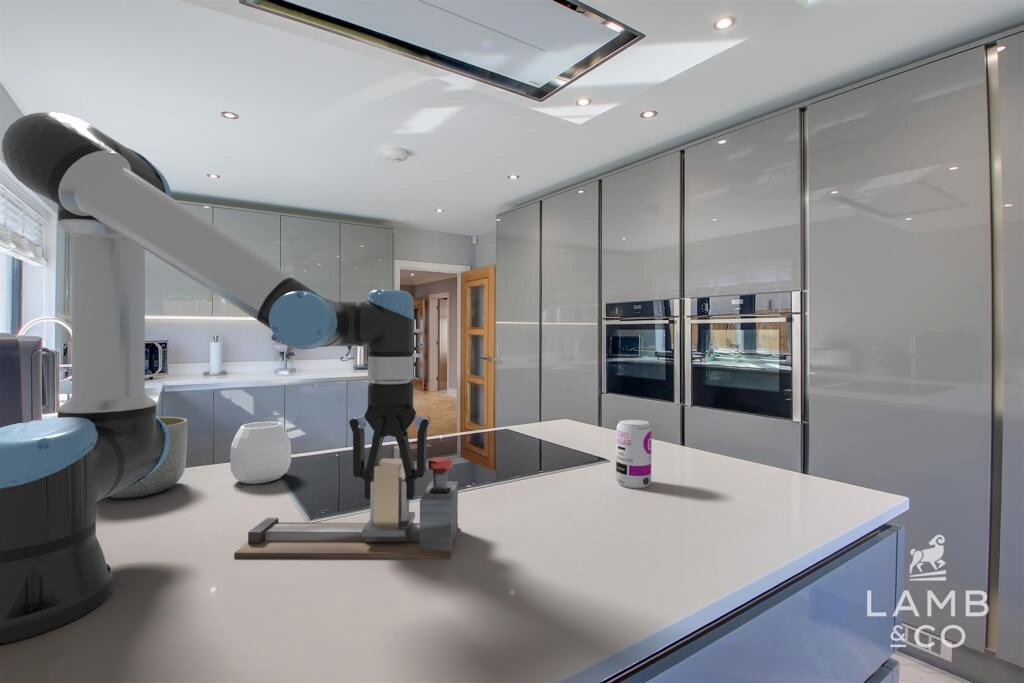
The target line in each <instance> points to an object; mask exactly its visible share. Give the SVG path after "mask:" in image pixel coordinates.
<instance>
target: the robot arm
mask: <svg viewBox="0 0 1024 683" xmlns="http://www.w3.org/2000/svg"><path fill="white" fill-rule="evenodd" d="M1 142H2V143H1V152H2V156H3V160H4V161H5V165H7V166H6V167H7V168H8V170H9V171H10V173H11V174H12V175H13V177H15V178H16V180H18V181H19V182H20V183H21V184H22V185H23V186H25V187H26V188H28V189H29V190H31V191H32V192H34V193H36V194H38V195H41V196H42V197H45V198H46V199H48V200H50V201H51V202H53V203H55V204H56V205H58V206H57V224H58V226H59V227H61V229H63V230H64V231H65V232H66V233H67V234H68V235H69V236H70V237H71V239H72V241H71V246H72V247H71V260H72V261H71V396H70V398H69V399H68V400H66V401H65V402H64V403H63V404H61V405H60V406H59V407H58V408H57V417H50V418H43V419H40V418H39V419H35V420H31V421H28V422H19V423H14V424H9V425H6V426H2V427H0V643H4V644H8V643H12V642H15V641H19V640H23V639H24V640H25V639H27V638H30V637H33V636H36V635H39V634H42V633H44V632H45V633H46V632H48V631H51V630H53V629H56V628H58V627H62V626H63V625H65V624H68V623H70V622H72V621H74V620H76V619H78V618H80V617H83V616H84V615H86V614H88V613H89V612H91V611H93V610H94V609H96V608H97V607H98V606H100V605H101V604H103V603H104V602H105V601H106V600H107V599H108V598H109V597H110V595H111V594H112V592H113V590H114V573H113V569H112V567H111V566H110V564H108V563H107V561H106V557H105V554H104V552H103V548H102V547H101V544H100V542H99V540H98V538H97V516H96V515H97V502H100V501H101V500H103V499H105V498H107V497H109V496H110V495H112V494H114V493H116V492H118V491H120V490H122V489H124V488H127V487H130V486H133V485H135V484H137V483H138V482H140V481H142V480H143V479H145V478H146V477H147V476H148V475H150V474H151V473H153V472H154V471H155V470H156V469H157V468H158V467H159V466H160V465H161V464H162V463H163V461H164V460H165V458H166V456H167V454H168V451H169V448H170V434H169V430H168V428H167V426H166V424H165V423H163V422H162V421H161V420H160V418H159V417H160V416H158V415H157V401H156V400H154V399H153V398H152V397H151V396H149V395H148V394H147V393H146V391H145V390H146V389H145V383H146V382H145V376H146V374H145V372H146V369H145V367H146V365H145V363H146V361H145V360H146V359H145V358H146V350H145V349H146V348H145V347H146V339H145V337H146V336H145V335H146V328H145V326H146V251H147V253H148V252H149V253H150V254H151V255H153V256H155V257H157V258H158V259H160V260H161V261H163V262H164V263H166V264H168V265H169V266H171V267H172V268H174V269H175V270H177V271H179V272H180V273H182V274H184V275H185V276H187V277H188V278H190V279H191V280H193V281H194V282H196V283H197V284H199V285H201V286H202V287H204V288H206V289H207V290H209V291H210V292H212V293H214V294H215V295H217V296H218V297H220V298H222V299H223V300H225V301H226V302H228V303H230V304H231V305H233V306H235V307H236V308H238V309H239V310H241V311H242V312H244V313H245V314H247V315H249V316H250V317H252V318H254V319H255V320H257V321H258V322H259V323H261V324H262V325H264V326H265V327H266V328H268V329H269V330H271V332H272V333H273V335H274V336H275V337H276V339H277V340H278V341H279V342H281V343H283V344H284V345H285V346H286V345H287V346H288V347H292V348H294V349H299V350H312V349H313V350H314V349H317V348H324V347H326V348H327V347H367V357H368V358H367V379H368V380H369V381H371V382H369V383H368V385H367V408H366V411H365V413H364V414H363V415H361V416H356V417H353V418H351V419H350V420H349V422H348V424H349V426H350V429H351V431H352V468H353V469H352V474H353V476H354V477H355V478H361V479H362V480H363V481H364V498H365V500H370V504H369V506H370V508H369V509H370V512H369V514H370V516H369V517H370V518H369V520H370V521H374V466H375V465H376V464H377V463H378V462H379V459H380V454H381V450H382V446H383V443H384V439H385V437H388V436H390V437H392V438H395V440H396V443H397V444H398V448H399V454H400V459H402V463H403V467H404V472H405V478H404V479H403V481H402V485H401V521H406V519H407V518H408V516H409V512H410V500H413V499H414V497H415V496H416V480H417V479H418V478H423V476H425V473H426V472H427V452H428V451H427V450H428V448H427V445H428V444H427V443H428V429H429V427H430V424H431V421H432V420H431V418H430V417H429V416H426V417H423V416H421V415H418V414H417V412H416V410H415V409H414V408H415V407H414V383H413V382H412V381H411V380H413V379H414V346H415V345H414V338H415V337H414V336H415V333H414V332H415V315H414V314H415V310H414V298H413V295H412V294H411V293H409V292H408V291H406V290H405V291H404V290H401V289H400V290H399V289H373V290H370V291H369V292H368V298H367V299H366V301H356V302H355V301H335V300H332V299H328V298H326V297H323V296H322V295H320V294H318V293H317V292H316V291H313V289H311V288H309V287H307V286H306V285H305V284H303V283H301V281H298V280H296V279H295V278H293V276H291V275H289V274H288V273H286V271H283V270H282V269H280V268H279V267H277V266H276V265H274V264H273V263H271V262H269V261H268V260H267V259H265V258H263V257H262V256H261V255H259V254H258V253H256V252H254V251H253V250H251V249H250V248H248V247H247V246H245V245H244V244H243V243H241V242H239V241H238V240H237V239H234V238H233V237H232V236H231V235H228V234H227V233H225V232H224V231H223V230H221V229H220V228H218V227H216V226H215V225H213V224H212V223H210V222H209V221H207V220H206V219H204V218H203V217H202V216H200V215H198V214H197V213H195V212H194V211H192V210H191V209H189V208H187V207H186V206H185V205H183V204H181V203H180V202H179V201H177V200H176V199H175V198H172V192H171V188H170V184H169V183H168V180H167V179H166V177H165V176H164V174H163V173H162V172H161V171H160V170H159V169H158V167H156V166H155V165H154V164H153V163H152V162H150V161H149V159H147V158H146V157H145V156H144V155H142V154H141V153H139V152H137V151H135V150H133V149H131V148H129V147H126V146H125V145H123V144H122V143H120V142H119V141H117V140H115V139H113V138H112V137H111V136H109V135H107V134H106V133H104V132H102V130H99V129H97V128H96V126H94V125H91V124H90V123H88V122H86V121H84V120H82V119H80V118H77V117H75V116H74V117H73V116H71V115H68V114H64V113H61V112H60V113H59V112H57V113H56V112H52V111H47V112H35V113H30V114H27V115H24V116H21V117H19V118H18V119H16V120H15V121H13V123H11V124H10V125H9V126H8V127H7V129H6V131H5V133H4V135H3V138H2V140H1ZM413 422H414V424H415V428H416V430H418V431H417V436H416V439H417V441H416V442H417V444H416V468H415V463H414V459H413V454H412V450H411V445H410V442H409V441H410V440H409V434H408V429H409V427H410V426H411V424H412V423H413ZM367 423H368V425H369V426H370V427H371V429H372V430H373V434H372V438H371V439H372V440H371V441H372V442H371V446H370V450H369V454H368V457H367V458H368V459H367V463H366V464H365V462H366V461H365V460H366V455H365V454H366V452H365V451H366V450H365V449H366V445H365V443H366V441H365V437H366V436H365V434H366V432H365V428H366V426H367ZM7 642H8V643H7Z"/></svg>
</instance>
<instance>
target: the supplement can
mask: <svg viewBox="0 0 1024 683" xmlns="http://www.w3.org/2000/svg"><path fill="white" fill-rule="evenodd" d="M652 430H653V429H652V427H651V426H650V423H649V421H647V420H642V419H631V418H630V419H629V418H628V419H620V420H618V423H617V425H616V437H615V438H616V439H615V442H616V445H615V447H616V450H615V454H616V455H615V456H616V458H615V459H616V460H615V463H616V465H615V466H616V467H615V481H616V482H617V483H618V485H620V486H622V487H624V488H628V489H639V490H640V489H645V488H648V487H649V485H651V483H652V434H653V433H652Z"/></svg>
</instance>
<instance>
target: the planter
mask: <svg viewBox="0 0 1024 683" xmlns="http://www.w3.org/2000/svg"><path fill="white" fill-rule="evenodd" d="M158 417H159V418H160V420H161V421H162V422H163V423H165V424H166V426H167V428H168V430H169V434H170V448H169V451H168V454H167V456H166V458H165V460H164V461H163V463H162V464H161V465H160V466H159V467H158V468H157V469H156V470H155V471H154V472H153V473H151V474H150V475H148V476H147V477H146V478H145V479H143V480H142V481H140V482H138V483H137V484H135V485H133V486H130V487H127V488H124V489H122V490H120V491H118V492H116V493H114V494H112V495H110V496H108V497H110V498H113V499H135V498H142V497H147V496H152V495H156V494H159V493H162V492H165V491H167V490H169V489H170V488H172V487H173V486H175V485H176V484H177V483H178V482H179V481H180V480H181V479H182V477H183V475H184V474H185V469H186V465H187V464H186V463H187V448H188V446H187V445H188V424H189V423H188V419H187V418H184V417H179V416H178V417H177V416H158Z"/></svg>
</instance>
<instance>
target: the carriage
mask: <svg viewBox="0 0 1024 683" xmlns="http://www.w3.org/2000/svg"><path fill="white" fill-rule="evenodd" d="M405 477H406V476H405V472H404V467H403V463H402V459H401V458H381V459H380V461H379V460H378V463H377V464H376V465H375V466H374V521H370V519H369V520H368V522H366V523H367V524H366V526H365V527H364V528H363V530H362V536H365V542H407V541H408V530H409V528H410V526H411V525H413V523H414V520H415V518H416V511H409V516H408V518H407V519H406V521H401V485H402V481H403V479H404V478H405Z"/></svg>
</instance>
